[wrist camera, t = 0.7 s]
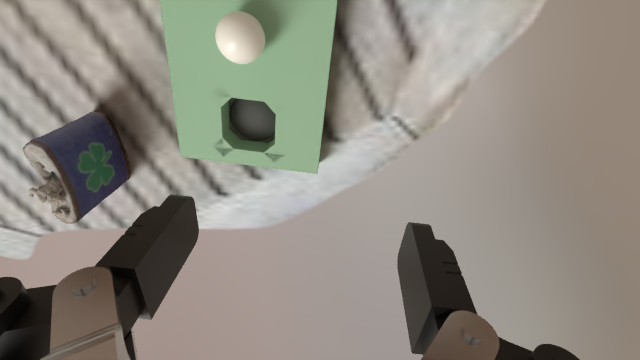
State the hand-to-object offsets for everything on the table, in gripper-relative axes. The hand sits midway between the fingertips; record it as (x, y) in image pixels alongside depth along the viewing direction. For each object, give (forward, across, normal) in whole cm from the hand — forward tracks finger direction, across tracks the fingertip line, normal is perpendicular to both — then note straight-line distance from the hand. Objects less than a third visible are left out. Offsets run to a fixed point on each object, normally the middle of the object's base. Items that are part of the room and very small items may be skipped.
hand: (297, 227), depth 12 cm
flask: (+23, +25, +11) cm, 36 cm away
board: (+23, +8, -1) cm, 24 cm away
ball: (+19, +8, -3) cm, 20 cm away
